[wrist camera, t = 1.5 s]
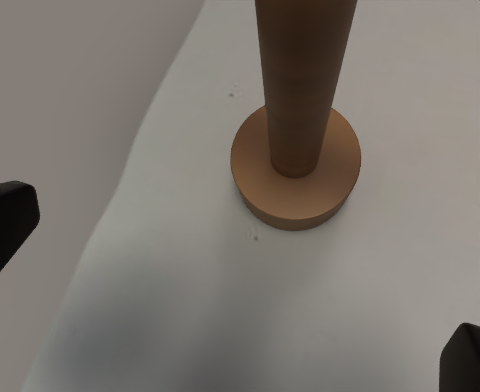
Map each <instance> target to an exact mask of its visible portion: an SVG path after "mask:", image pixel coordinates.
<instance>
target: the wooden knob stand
mask: <svg viewBox="0 0 480 392" xmlns="http://www.w3.org/2000/svg"><path fill="white" fill-rule="evenodd" d="M356 4H357V0H255V7H256V17H257V27H258V37H259V47H260V57H261V66H262V76H263V86H264V96H265V105H264V106H263V107H261V108H259V109H258V110H256V111H255V112H254V113H253V114H251V115H250V116H249V117H248V118H247V119H246V120H245V122H244V123H243V124H242V125H241V127H240V128H239V130H238V132H237V134H236V136H235V138H234V141H233V145H232V148H231V170H232V174H233V178H234V180H235V183H236V185H237V187H238V190H239V192H240V194H241V197H242V199H243V201H244V203H245V204H246V206H247V208H248V209H249V210H250V211H251V212H252V213H253V214H254V215H255V216H256V217H257V218H258V219H260V220H261V221H262V222H264V223H266V224H268V225H270V226H272V227H275V228H278V229H282V230H290V231H300V230H306V229H310V228H313V227H316V226H318V225H321V224H323V223H324V222H326V221H327V220H329V219H330V218H331V217H333V216H334V215H335V214H336V213H337V212H338V210H339V209H340V208H341V206H342V205H343V204H344V202H345V200H346V199H347V197H348V196H349V194H350V192H351V191H352V189H353V187H354V185H355V183H356V181H357V178H358V175H359V172H360V167H361V151H360V146H359V142H358V139H357V136H356V134H355V132H354V130H353V129H352V127H351V125H350V124H349V123H348V122H347V120H346V119H345V118H344V117H343V116H342V115H341V114H340V113H338V112H337V111H336V110H334V109H333V108H331V106H332V102H333V98H334V94H335V90H336V86H337V82H338V78H339V74H340V70H341V65H342V61H343V57H344V53H345V49H346V45H347V41H348V37H349V33H350V29H351V24H352V20H353V16H354V12H355V8H356Z"/></svg>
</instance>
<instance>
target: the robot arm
mask: <svg viewBox="0 0 480 392" xmlns="http://www.w3.org/2000/svg"><path fill="white" fill-rule="evenodd" d="M39 220H40V212H39V206H38V200H37V194H36V190H35V188H34V187H33V186H32V185H29V184H26V183H23V182H20V181H10V182H5V183H0V271H1V270H2V269H3V268H4V266H5V265H6V264H7V263H8V261H9V260H10V259H11V258H12V256H13V255H14V254H15V253H16V251H17V250H18V249H19V248H20V247H21V245H22V244H23V243H24V241H25V240H26V239H27V238H28V236H29V235H30V234H31V233H32V231H33V230H34V229H35V228H36V226H37V225H38V223H39ZM439 392H480V326H477V325H473V324H470V323H462V324H460V325H459V327H458V328H457V329H456V331H455V332H454V334H453V335H452V337H451V338H450V340H449V341H448V343H447V344H446V346H445V347H444V349H443V351H442V353H441V357H440V372H439Z"/></svg>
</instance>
